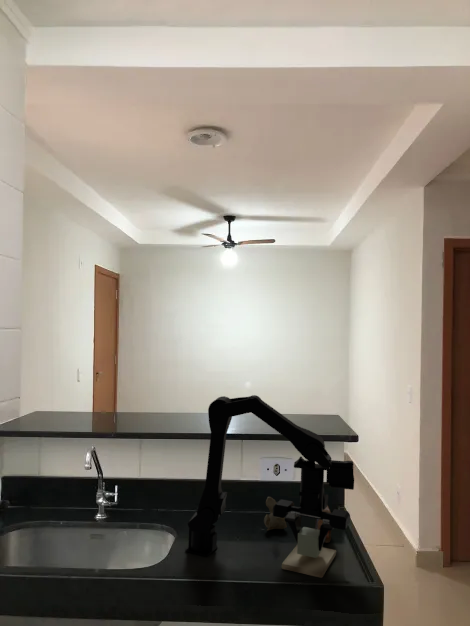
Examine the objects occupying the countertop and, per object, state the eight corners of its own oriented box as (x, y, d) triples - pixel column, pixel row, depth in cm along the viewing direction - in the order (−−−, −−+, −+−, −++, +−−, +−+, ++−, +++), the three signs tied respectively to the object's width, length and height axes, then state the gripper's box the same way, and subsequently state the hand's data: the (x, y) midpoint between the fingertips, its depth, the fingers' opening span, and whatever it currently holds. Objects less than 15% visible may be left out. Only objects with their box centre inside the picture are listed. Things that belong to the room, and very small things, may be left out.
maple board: (281, 568, 130) (281, 563, 130) (298, 546, 143) (298, 542, 143) (321, 577, 126) (322, 572, 126) (335, 554, 139) (336, 550, 139)
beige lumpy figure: (284, 531, 149) (269, 496, 152) (265, 539, 151) (250, 505, 154) (294, 523, 157) (279, 490, 160) (276, 531, 159) (262, 498, 162)
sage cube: (297, 553, 133) (297, 533, 133) (302, 546, 138) (303, 526, 138) (316, 558, 131) (317, 537, 131) (321, 550, 136) (322, 530, 136)
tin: (314, 526, 158) (315, 497, 158) (325, 526, 158) (325, 498, 158) (320, 548, 143) (321, 516, 143) (332, 548, 143) (333, 516, 143)
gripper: (355, 483, 138) (353, 543, 138) (286, 472, 146) (284, 529, 146) (346, 495, 128) (344, 561, 128) (272, 483, 136) (270, 544, 136)
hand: (309, 547), depth 135 cm, fingers closed on sage cube, 5 cm apart
